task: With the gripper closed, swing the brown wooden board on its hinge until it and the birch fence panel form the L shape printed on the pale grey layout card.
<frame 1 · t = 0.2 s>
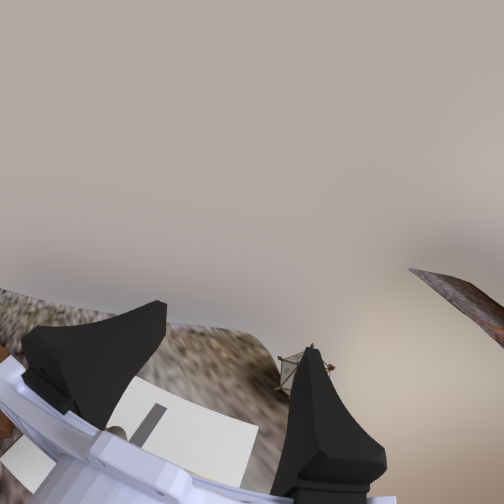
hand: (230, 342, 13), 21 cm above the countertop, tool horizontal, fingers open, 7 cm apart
brown wooden board: (79, 422, 20), point 3 cm above the countertop, hinge at 0.0°
layout card: (130, 460, 20), on the countertop
game die: (295, 395, 36), on the countertop
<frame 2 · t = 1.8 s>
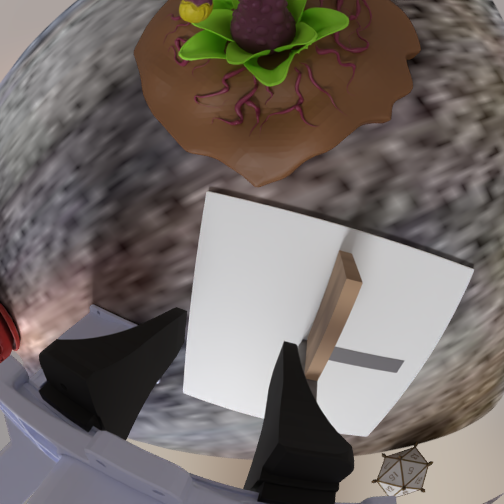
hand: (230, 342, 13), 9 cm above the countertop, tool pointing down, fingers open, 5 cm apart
brown wooden board: (330, 315, 18), point 3 cm above the countertop, hinge at 0.0°
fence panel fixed: (308, 347, 23), resting on layout card
layout card: (312, 351, 23), on the countertop
plant pot: (7, 321, 38), on the countertop
game die: (400, 450, 27), on the countertop
plant: (268, 48, 17), on the countertop
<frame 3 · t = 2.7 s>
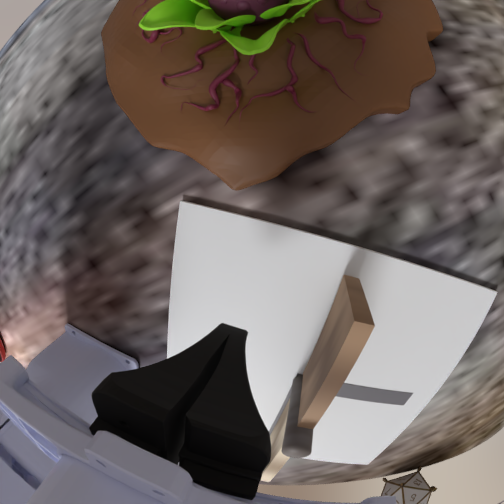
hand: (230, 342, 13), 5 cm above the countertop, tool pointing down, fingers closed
brown wooden board: (330, 355, 14), point 3 cm above the countertop, hinge at 0.0°
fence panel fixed: (304, 382, 19), resting on layout card
layout card: (308, 385, 19), on the countertop
game die: (402, 474, 23), on the countertop
plant: (257, 23, 13), on the countertop
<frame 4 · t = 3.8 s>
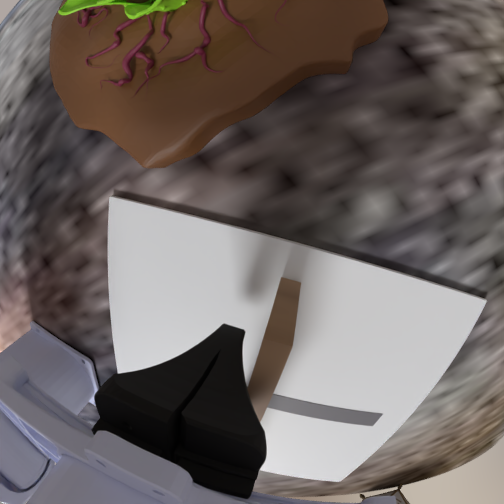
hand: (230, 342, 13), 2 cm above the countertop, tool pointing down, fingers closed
brown wooden board: (263, 372, 12), point 3 cm above the countertop, hinge at 0.0°, touching gripper
layout card: (258, 398, 17), on the countertop
game die: (382, 490, 21), on the countertop
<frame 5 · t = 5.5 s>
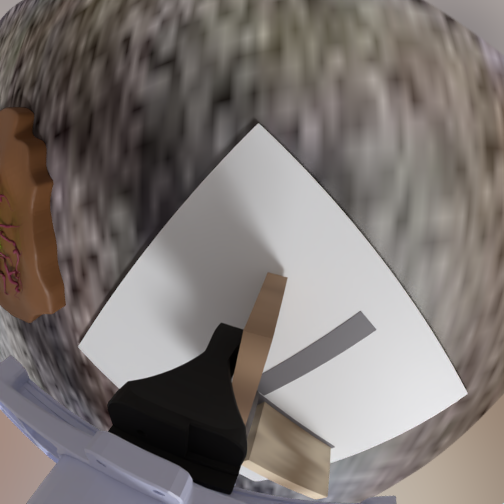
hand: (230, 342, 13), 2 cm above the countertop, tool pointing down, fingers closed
brown wooden board: (251, 368, 13), point 3 cm above the countertop, hinge at 55.8°, touching gripper
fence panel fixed: (246, 393, 17), resting on layout card
layout card: (257, 391, 17), on the countertop
plant: (10, 220, 19), on the countertop
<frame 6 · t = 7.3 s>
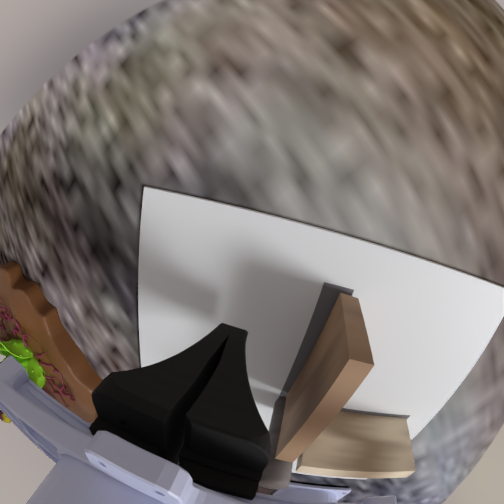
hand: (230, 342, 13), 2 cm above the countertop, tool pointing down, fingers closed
brown wooden board: (318, 385, 12), point 3 cm above the countertop, hinge at 93.6°
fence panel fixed: (287, 404, 17), resting on layout card
layout card: (297, 398, 17), on the countertop
plant: (46, 348, 24), on the countertop
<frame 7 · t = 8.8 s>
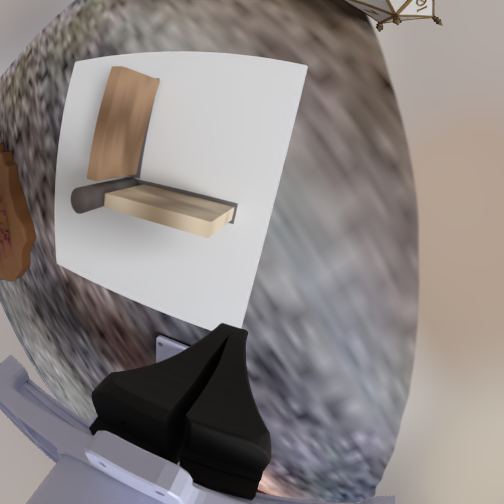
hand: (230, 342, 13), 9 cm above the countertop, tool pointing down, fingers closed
brown wooden board: (123, 124, 17), point 3 cm above the countertop, hinge at 93.7°
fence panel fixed: (131, 187, 22), resting on layout card
layout card: (138, 182, 22), on the countertop
game die: (375, 4, 13), on the countertop
plant: (5, 215, 29), on the countertop
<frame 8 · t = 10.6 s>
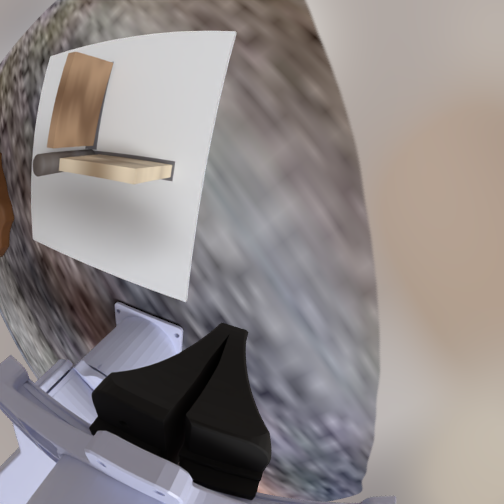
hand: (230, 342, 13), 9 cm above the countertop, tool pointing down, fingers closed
brown wooden board: (79, 101, 17), point 3 cm above the countertop, hinge at 93.7°
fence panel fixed: (89, 158, 22), resting on layout card
layout card: (95, 153, 22), on the countertop
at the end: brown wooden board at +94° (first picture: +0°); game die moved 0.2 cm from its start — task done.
